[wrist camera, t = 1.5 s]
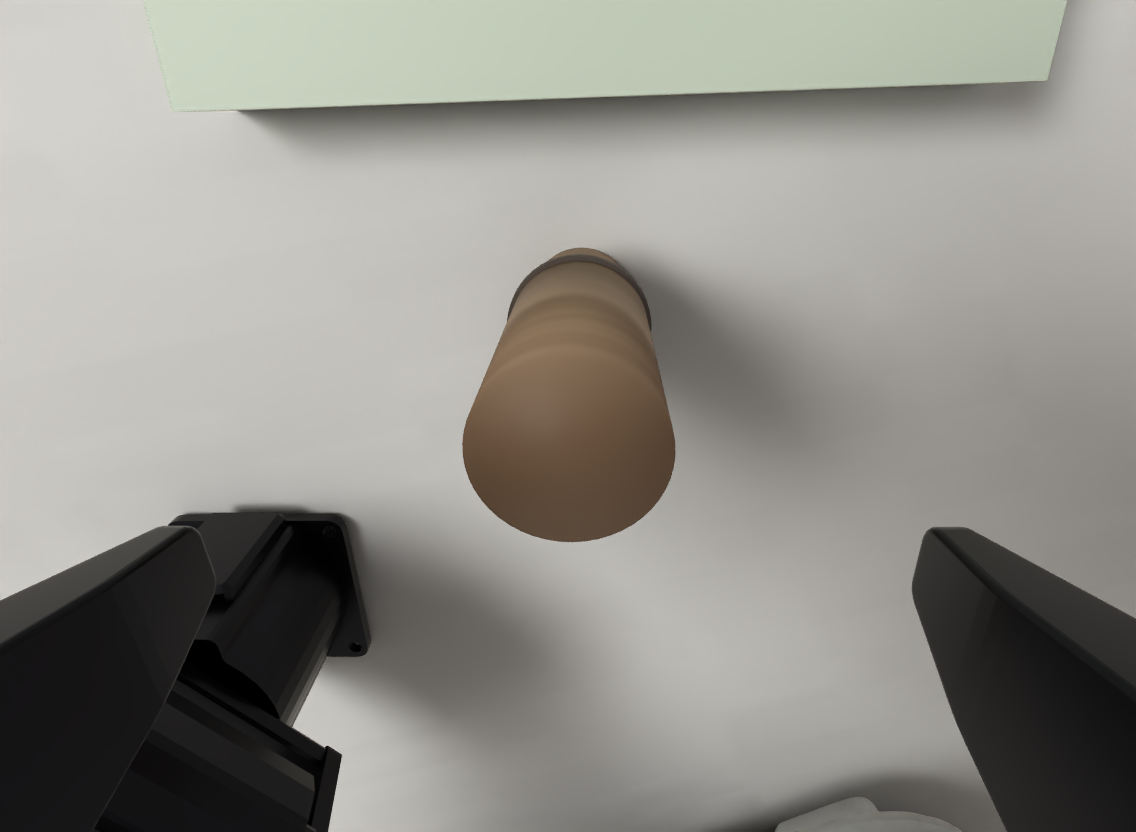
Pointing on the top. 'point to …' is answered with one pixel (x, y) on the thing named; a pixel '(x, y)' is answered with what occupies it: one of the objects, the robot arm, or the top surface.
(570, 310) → the peg
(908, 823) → the dish rack
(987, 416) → the top surface
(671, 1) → the board
